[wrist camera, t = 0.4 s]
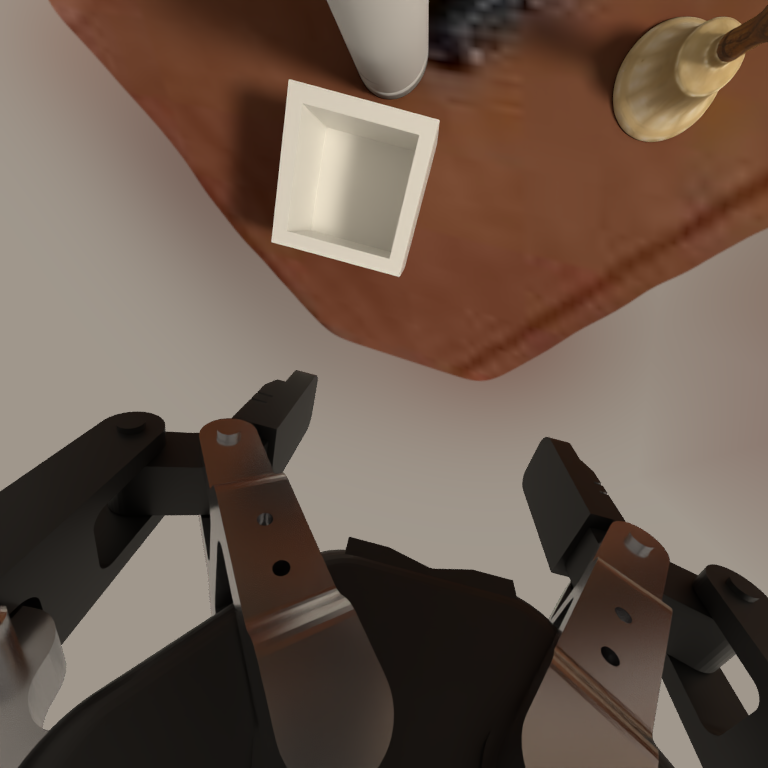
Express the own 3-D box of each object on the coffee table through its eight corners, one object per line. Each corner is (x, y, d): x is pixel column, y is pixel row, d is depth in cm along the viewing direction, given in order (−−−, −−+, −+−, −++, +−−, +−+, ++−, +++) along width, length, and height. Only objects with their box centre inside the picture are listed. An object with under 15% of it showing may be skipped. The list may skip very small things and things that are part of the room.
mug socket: (315, 110, 34) (284, 77, 26) (437, 143, 34) (439, 120, 26) (298, 238, 38) (268, 241, 31) (404, 267, 38) (399, 276, 31)
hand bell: (702, 140, 31) (940, 65, 17) (602, 143, 32) (746, 74, 18) (739, 14, 28) (1075, -216, 14) (626, 21, 29) (827, -187, 14)
